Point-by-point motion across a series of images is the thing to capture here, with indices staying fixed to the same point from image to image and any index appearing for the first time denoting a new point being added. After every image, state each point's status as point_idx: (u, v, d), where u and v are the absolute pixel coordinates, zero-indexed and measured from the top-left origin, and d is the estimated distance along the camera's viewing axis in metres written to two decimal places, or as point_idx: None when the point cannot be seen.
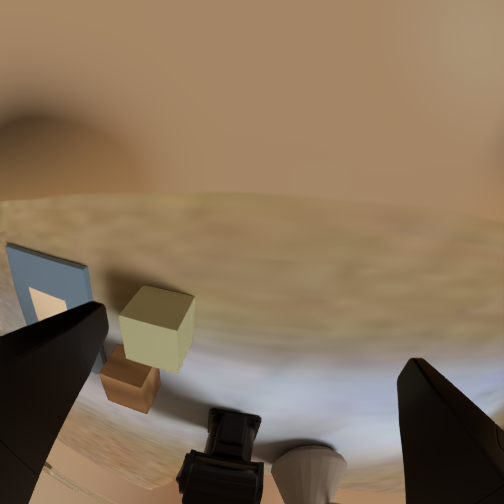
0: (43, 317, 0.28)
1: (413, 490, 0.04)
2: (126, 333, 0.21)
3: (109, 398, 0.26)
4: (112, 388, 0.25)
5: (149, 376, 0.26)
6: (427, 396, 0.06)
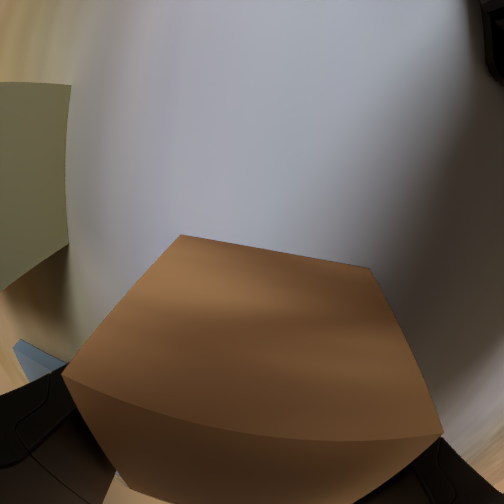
0: None
1: None
2: None
3: None
4: (203, 499, 0.04)
5: (151, 296, 0.05)
6: None
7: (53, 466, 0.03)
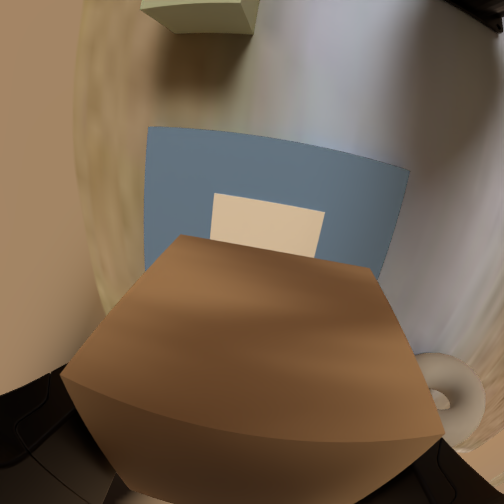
0: None
1: None
2: None
3: None
4: (202, 500, 0.04)
5: (150, 296, 0.05)
6: None
7: (53, 465, 0.03)
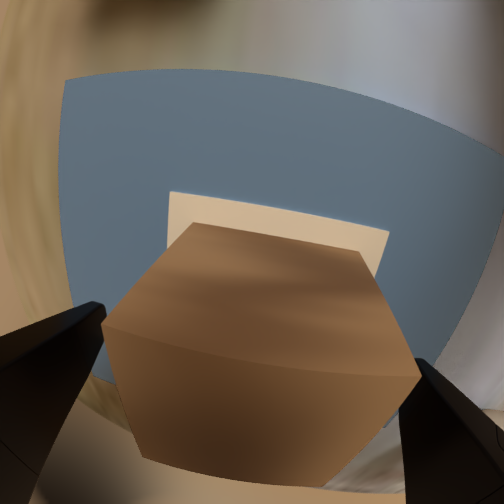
0: None
1: (413, 490, 0.04)
2: None
3: (309, 483, 0.05)
4: (212, 459, 0.05)
5: (172, 267, 0.06)
6: (426, 396, 0.06)
7: None
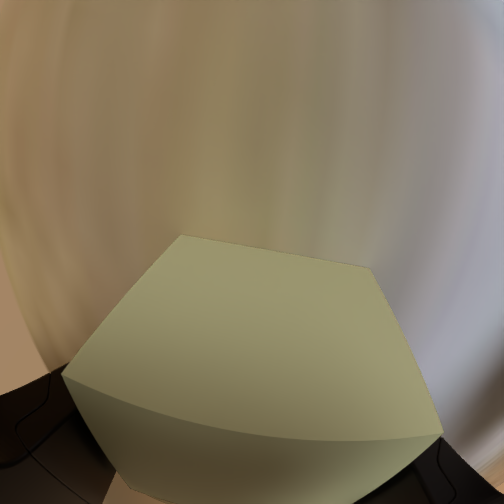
0: None
1: None
2: None
3: None
4: None
5: None
6: None
7: (53, 466, 0.03)
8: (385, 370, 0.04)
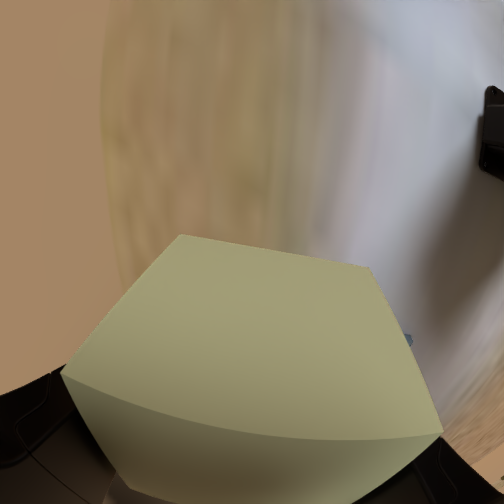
0: None
1: None
2: None
3: None
4: None
5: None
6: None
7: (53, 465, 0.03)
8: (384, 369, 0.04)
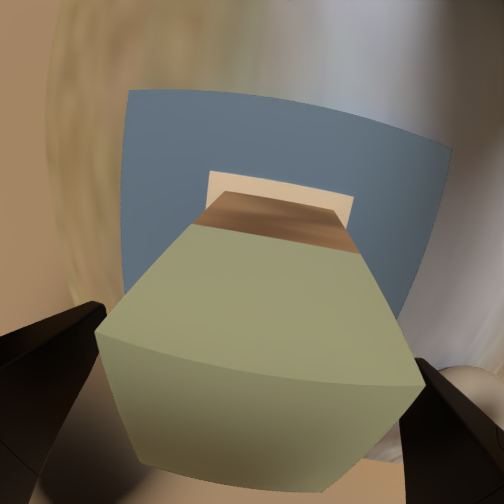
0: None
1: (413, 489, 0.04)
2: (203, 475, 0.05)
3: None
4: None
5: (221, 207, 0.10)
6: (427, 396, 0.06)
7: None
8: (371, 332, 0.04)
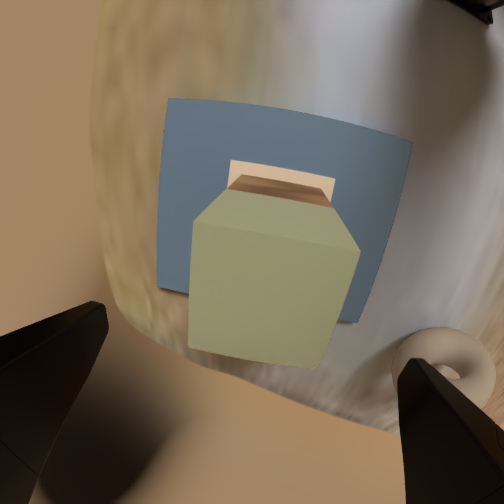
0: None
1: (413, 489, 0.04)
2: (234, 348, 0.10)
3: None
4: None
5: (242, 182, 0.15)
6: (427, 395, 0.06)
7: None
8: (332, 232, 0.09)
